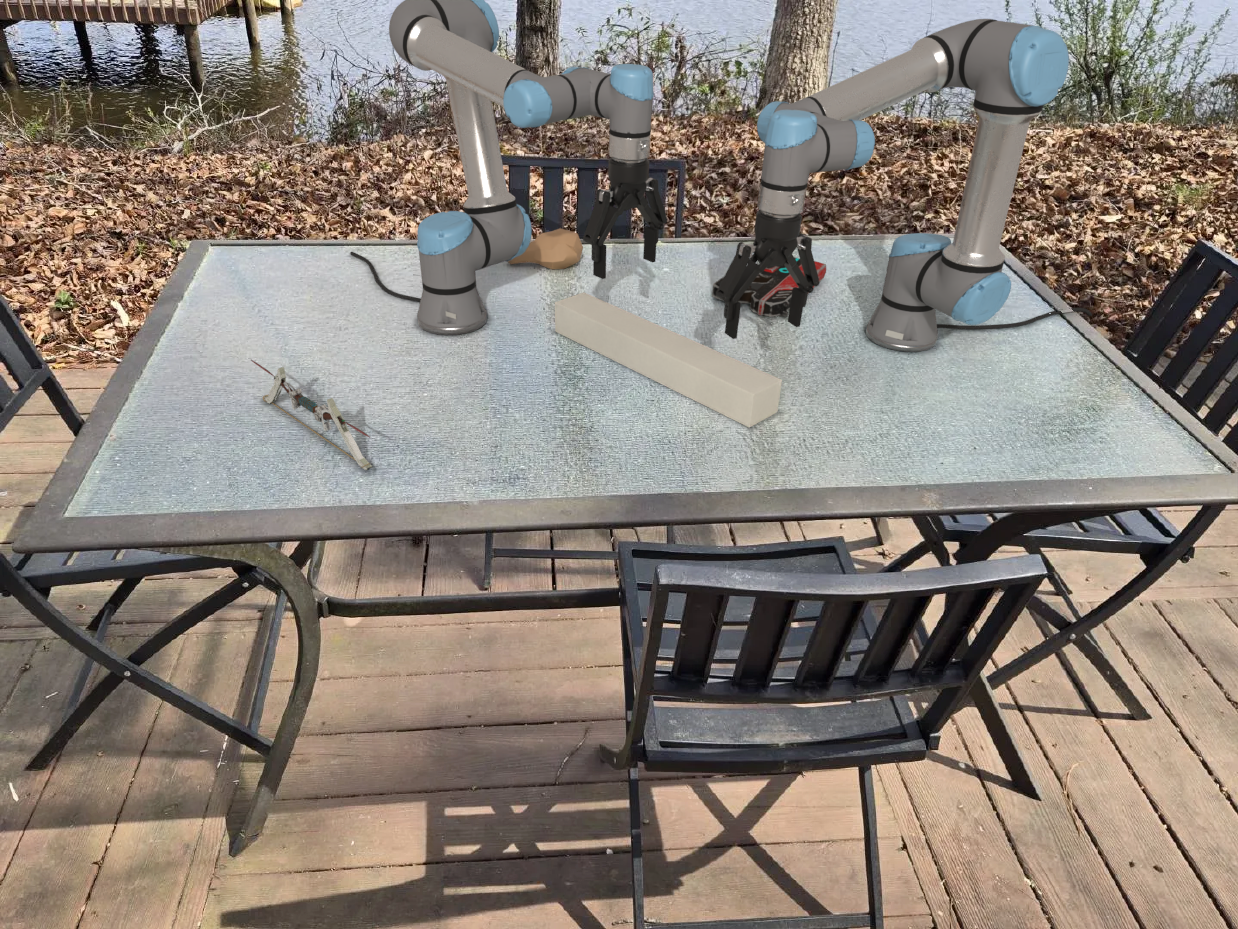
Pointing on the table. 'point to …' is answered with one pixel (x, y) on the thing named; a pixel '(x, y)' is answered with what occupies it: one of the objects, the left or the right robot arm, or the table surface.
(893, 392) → the table surface
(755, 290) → the gun
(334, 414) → the bow
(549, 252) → the squash
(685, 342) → the wide beam
